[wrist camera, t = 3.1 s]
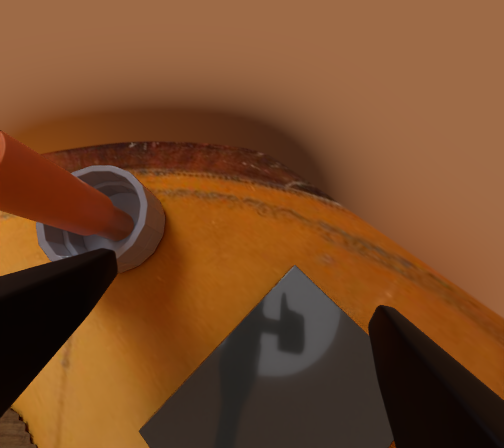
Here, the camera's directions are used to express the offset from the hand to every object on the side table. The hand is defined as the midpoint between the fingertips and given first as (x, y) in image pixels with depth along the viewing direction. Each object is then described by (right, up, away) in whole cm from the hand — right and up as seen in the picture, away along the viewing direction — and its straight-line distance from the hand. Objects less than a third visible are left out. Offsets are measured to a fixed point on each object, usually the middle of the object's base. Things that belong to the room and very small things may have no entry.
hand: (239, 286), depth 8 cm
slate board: (+3, -13, +11) cm, 17 cm away
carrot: (-13, +2, +15) cm, 20 cm away
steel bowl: (-13, +2, +16) cm, 20 cm away
